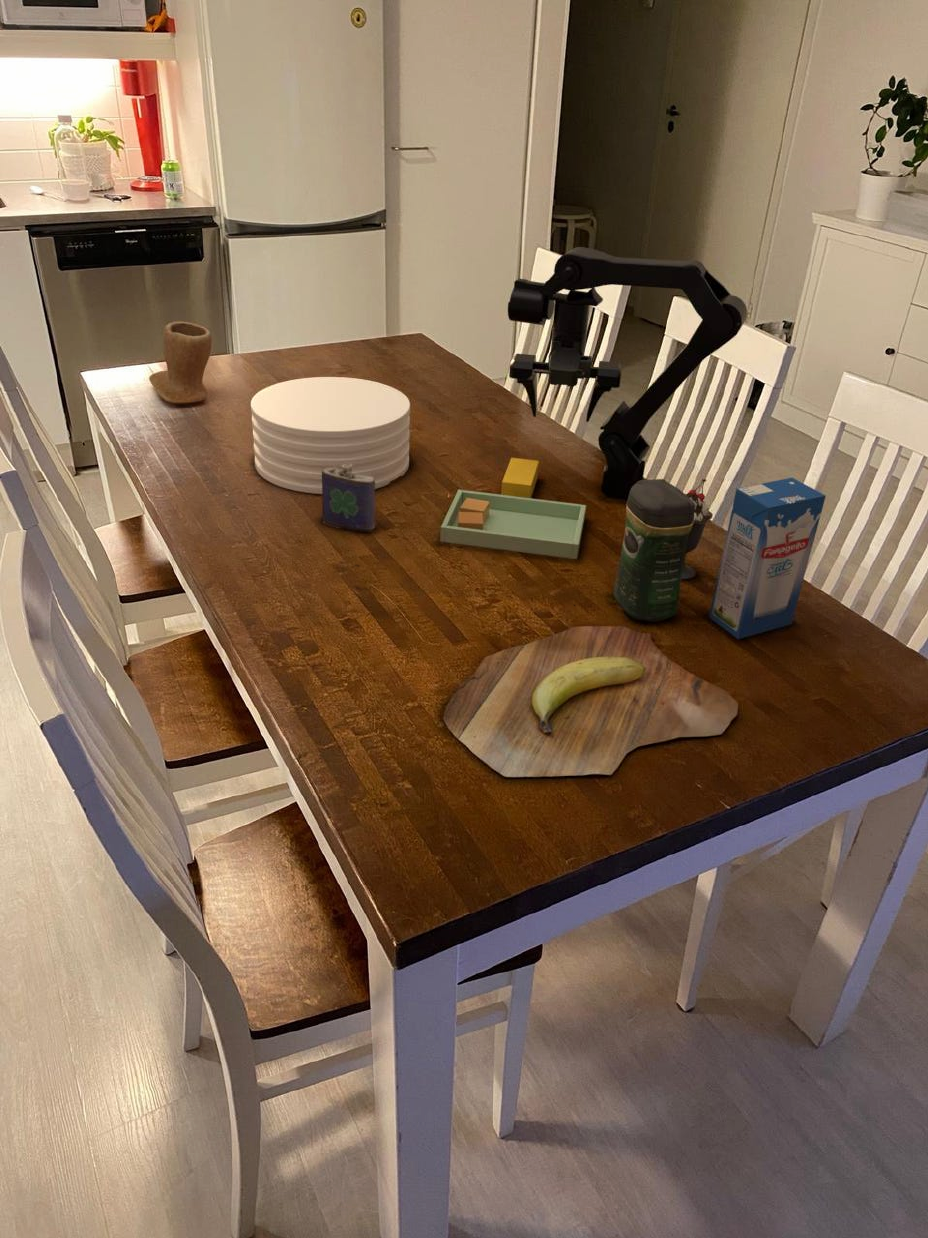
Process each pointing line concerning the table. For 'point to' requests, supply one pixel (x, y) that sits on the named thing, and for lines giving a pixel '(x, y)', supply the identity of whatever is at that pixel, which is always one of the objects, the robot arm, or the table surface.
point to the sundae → (696, 527)
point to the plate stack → (329, 431)
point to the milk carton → (765, 556)
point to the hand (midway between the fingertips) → (561, 418)
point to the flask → (348, 499)
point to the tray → (519, 525)
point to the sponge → (520, 478)
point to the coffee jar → (653, 550)
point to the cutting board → (581, 703)
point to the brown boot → (183, 363)
